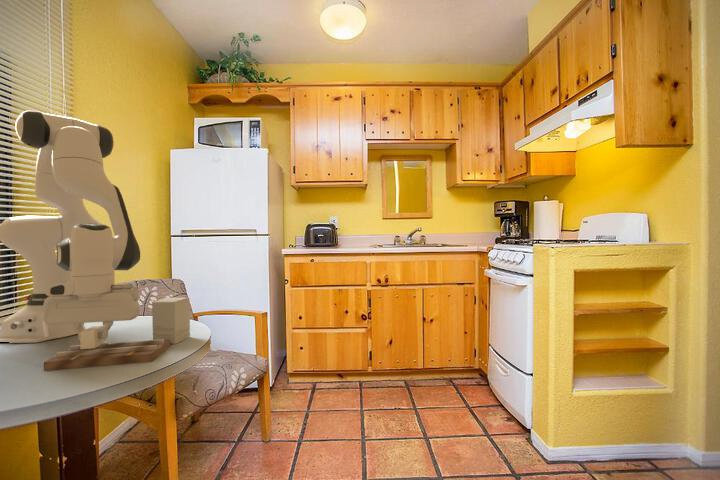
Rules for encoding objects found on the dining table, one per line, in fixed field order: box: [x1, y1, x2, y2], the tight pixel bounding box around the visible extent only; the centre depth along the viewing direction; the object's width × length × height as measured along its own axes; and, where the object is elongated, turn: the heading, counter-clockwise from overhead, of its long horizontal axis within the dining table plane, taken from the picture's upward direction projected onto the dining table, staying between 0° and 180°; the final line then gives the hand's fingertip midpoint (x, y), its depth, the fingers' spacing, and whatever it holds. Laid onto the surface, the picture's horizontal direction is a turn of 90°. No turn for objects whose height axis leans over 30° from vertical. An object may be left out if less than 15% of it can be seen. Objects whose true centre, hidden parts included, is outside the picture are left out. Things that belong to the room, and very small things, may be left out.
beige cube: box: [78, 325, 109, 350], centre depth 82 cm, size 5×5×5 cm
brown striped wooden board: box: [43, 339, 171, 371], centre depth 83 cm, size 23×12×3 cm, turn 103°
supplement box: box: [151, 297, 191, 345], centre depth 97 cm, size 7×7×13 cm
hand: (93, 339), depth 82 cm, fingers closed on beige cube, 3 cm apart
